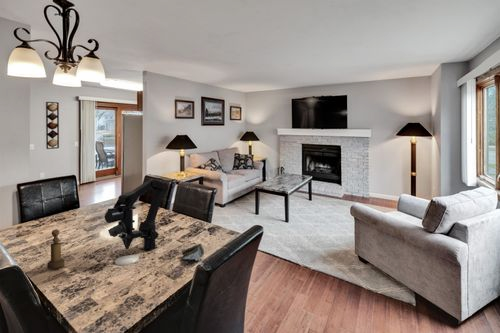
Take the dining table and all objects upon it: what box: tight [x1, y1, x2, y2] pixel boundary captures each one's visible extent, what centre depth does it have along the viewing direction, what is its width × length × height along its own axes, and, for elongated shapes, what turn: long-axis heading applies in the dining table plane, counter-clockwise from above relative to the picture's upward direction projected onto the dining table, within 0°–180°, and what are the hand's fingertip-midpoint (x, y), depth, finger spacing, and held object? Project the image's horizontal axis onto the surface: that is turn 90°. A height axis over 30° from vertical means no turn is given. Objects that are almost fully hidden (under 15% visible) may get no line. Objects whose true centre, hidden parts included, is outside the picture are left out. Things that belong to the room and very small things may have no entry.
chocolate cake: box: [181, 243, 205, 261], centre depth 130 cm, size 10×7×12 cm
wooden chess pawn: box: [46, 228, 65, 270], centre depth 121 cm, size 7×6×18 cm
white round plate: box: [114, 254, 140, 266], centre depth 128 cm, size 11×11×1 cm
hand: (127, 249), depth 128 cm, fingers closed
